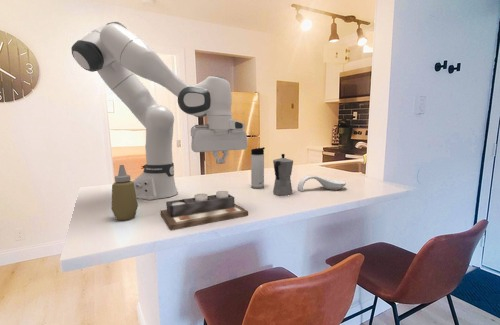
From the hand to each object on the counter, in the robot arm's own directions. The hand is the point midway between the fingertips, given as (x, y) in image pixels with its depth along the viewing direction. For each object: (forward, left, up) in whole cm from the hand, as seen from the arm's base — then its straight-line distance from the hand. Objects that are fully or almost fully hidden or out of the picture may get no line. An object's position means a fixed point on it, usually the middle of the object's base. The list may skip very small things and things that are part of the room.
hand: (220, 163), depth 95 cm
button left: (-12, -10, -15) cm, 22 cm away
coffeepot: (+19, +27, -17) cm, 37 cm away
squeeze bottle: (-29, -15, -17) cm, 37 cm away
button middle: (-6, -5, -14) cm, 16 cm away
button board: (-4, -7, -17) cm, 19 cm away
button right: (0, 0, -14) cm, 14 cm away
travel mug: (+6, +37, -17) cm, 41 cm away
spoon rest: (+37, +40, -18) cm, 57 cm away
